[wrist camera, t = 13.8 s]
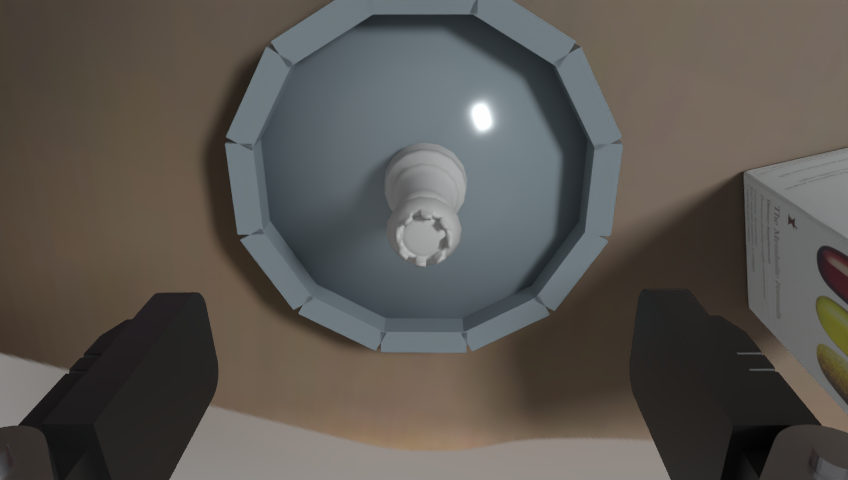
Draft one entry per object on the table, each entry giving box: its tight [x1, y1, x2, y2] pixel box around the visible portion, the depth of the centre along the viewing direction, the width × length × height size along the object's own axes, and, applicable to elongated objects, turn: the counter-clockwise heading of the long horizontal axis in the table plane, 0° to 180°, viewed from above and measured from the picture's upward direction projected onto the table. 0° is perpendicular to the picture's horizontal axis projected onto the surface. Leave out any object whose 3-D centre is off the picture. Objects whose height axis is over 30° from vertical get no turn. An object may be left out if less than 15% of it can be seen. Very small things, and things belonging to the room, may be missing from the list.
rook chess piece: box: [384, 143, 467, 268], centre depth 29 cm, size 4×4×8 cm
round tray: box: [225, 0, 623, 353], centre depth 32 cm, size 20×20×2 cm
